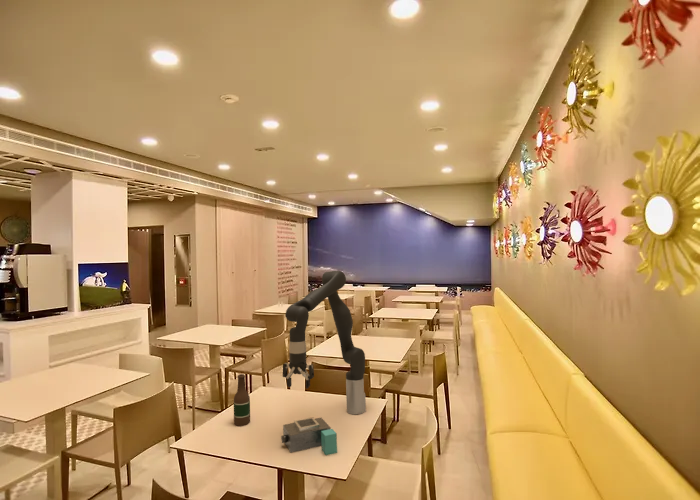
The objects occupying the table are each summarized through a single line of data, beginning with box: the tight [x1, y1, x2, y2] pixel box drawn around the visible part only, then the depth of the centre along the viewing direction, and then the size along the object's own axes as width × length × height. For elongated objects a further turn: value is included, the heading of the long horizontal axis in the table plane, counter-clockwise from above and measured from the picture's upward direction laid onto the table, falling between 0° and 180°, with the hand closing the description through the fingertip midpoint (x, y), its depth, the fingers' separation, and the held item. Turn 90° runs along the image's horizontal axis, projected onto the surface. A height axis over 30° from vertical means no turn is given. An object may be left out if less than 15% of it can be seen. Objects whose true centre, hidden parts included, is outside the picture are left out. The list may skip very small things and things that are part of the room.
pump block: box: [321, 428, 338, 456], centre depth 164 cm, size 5×5×8 cm
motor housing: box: [280, 417, 332, 454], centre depth 173 cm, size 20×12×8 cm, turn 114°
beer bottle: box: [233, 373, 251, 427], centre depth 194 cm, size 8×8×24 cm
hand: (298, 387), depth 175 cm, fingers open, 8 cm apart
